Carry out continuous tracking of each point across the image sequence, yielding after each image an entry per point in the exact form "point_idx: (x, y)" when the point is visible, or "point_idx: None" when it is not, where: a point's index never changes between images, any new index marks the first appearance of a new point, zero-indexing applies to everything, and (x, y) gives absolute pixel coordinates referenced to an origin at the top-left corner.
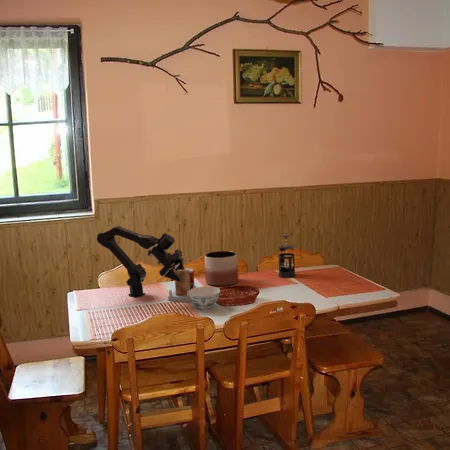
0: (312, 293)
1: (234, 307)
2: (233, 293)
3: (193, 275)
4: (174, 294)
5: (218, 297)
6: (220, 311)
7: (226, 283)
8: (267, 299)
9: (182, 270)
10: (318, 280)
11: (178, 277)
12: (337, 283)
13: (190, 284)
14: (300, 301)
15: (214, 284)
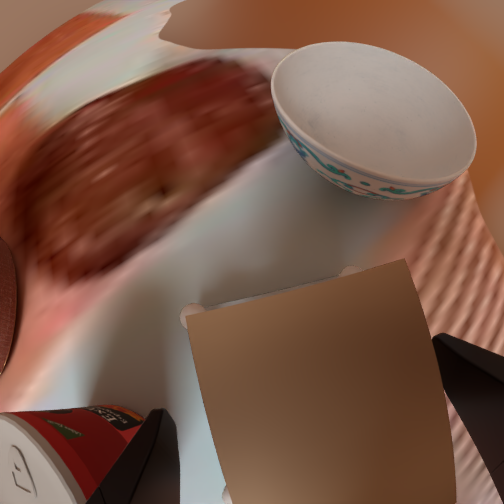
0: (98, 36)
1: None
2: (105, 161)
3: (32, 411)
4: None
5: (331, 71)
6: None
7: (6, 248)
8: (161, 52)
9: (295, 452)
10: (9, 85)
11: (466, 357)
12: (36, 56)
13: (114, 421)
14: (162, 18)
15: (13, 311)
